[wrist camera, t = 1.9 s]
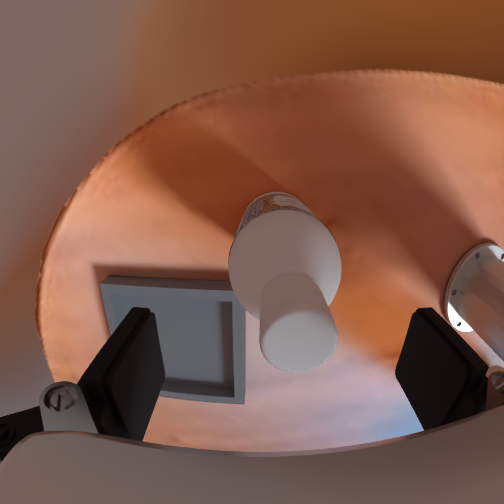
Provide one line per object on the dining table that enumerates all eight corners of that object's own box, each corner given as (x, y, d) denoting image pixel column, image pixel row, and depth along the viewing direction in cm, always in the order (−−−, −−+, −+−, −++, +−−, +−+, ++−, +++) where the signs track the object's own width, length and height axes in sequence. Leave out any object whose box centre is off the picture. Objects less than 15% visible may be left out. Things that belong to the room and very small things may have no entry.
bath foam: (322, 209, 29) (422, 297, 9) (292, 269, 31) (328, 421, 11) (259, 179, 28) (251, 215, 9) (230, 242, 30) (180, 375, 11)
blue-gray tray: (245, 281, 31) (244, 291, 29) (245, 391, 36) (244, 404, 33) (109, 275, 32) (99, 283, 29) (132, 379, 36) (126, 390, 34)
